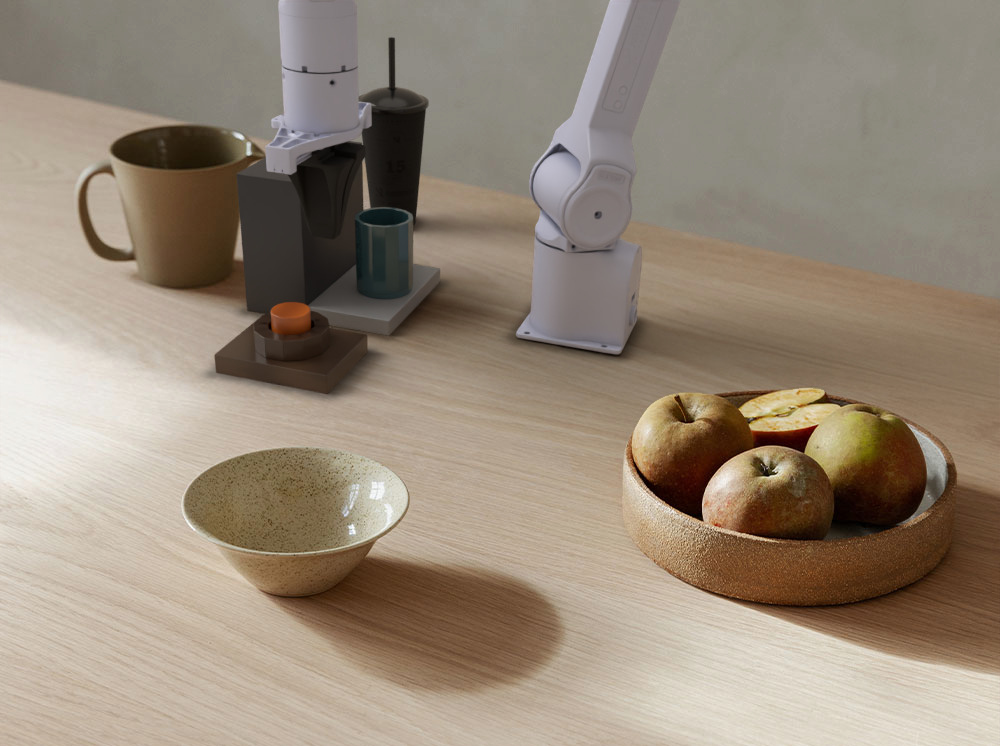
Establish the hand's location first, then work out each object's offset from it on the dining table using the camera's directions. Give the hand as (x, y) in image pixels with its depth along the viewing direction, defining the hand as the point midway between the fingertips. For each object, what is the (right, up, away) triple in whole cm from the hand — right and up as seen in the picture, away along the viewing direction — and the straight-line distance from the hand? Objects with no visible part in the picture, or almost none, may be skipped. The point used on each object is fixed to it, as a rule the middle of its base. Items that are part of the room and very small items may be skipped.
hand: (325, 235), depth 90 cm
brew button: (-3, -8, +1) cm, 8 cm away
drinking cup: (+2, +5, +33) cm, 33 cm away
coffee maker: (0, -4, +15) cm, 15 cm away
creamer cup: (+3, -3, +13) cm, 14 cm away
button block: (-3, -10, +3) cm, 11 cm away
